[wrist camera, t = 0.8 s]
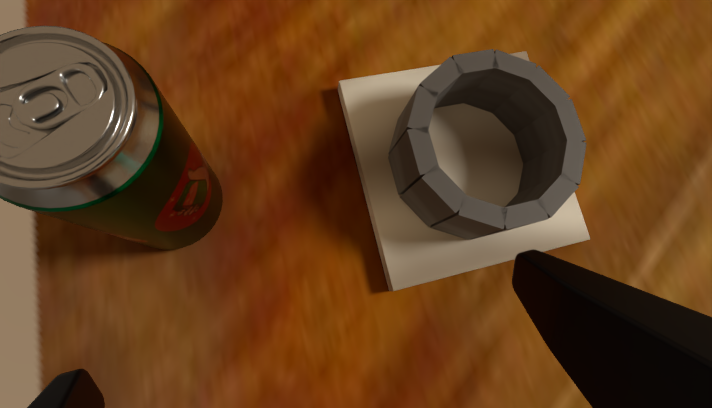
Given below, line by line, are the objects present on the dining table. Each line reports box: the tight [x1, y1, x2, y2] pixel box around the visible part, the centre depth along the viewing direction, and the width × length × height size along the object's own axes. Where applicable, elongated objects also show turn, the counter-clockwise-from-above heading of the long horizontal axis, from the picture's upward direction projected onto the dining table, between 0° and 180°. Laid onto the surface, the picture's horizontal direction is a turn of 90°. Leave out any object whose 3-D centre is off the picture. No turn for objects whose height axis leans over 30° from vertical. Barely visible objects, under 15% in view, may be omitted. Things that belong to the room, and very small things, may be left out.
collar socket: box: [338, 49, 590, 291], centre depth 22 cm, size 12×12×5 cm
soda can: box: [0, 26, 222, 250], centre depth 16 cm, size 5×5×12 cm
